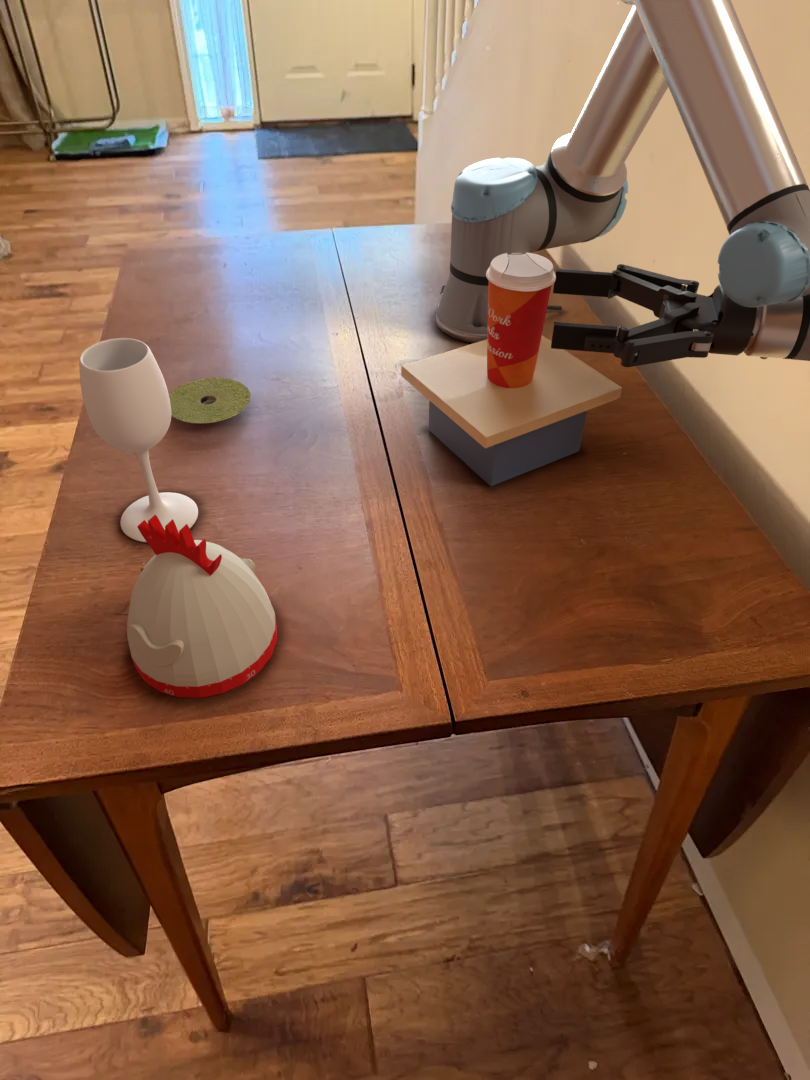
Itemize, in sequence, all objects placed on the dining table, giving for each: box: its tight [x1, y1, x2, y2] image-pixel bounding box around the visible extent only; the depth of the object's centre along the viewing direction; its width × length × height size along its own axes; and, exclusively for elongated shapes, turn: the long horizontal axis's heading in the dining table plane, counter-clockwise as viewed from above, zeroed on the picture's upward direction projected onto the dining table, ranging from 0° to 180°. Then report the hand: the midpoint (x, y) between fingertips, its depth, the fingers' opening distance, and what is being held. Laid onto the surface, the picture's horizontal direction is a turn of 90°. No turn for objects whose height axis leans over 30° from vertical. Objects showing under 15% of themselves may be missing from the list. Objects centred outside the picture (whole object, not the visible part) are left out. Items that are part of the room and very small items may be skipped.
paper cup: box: [486, 252, 556, 388], centre depth 90 cm, size 8×8×14 cm
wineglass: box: [78, 337, 199, 543], centre depth 82 cm, size 9×9×21 cm
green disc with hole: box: [169, 377, 252, 424], centre depth 105 cm, size 11×11×2 cm
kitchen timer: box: [126, 515, 278, 699], centre depth 71 cm, size 14×14×15 cm
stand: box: [400, 334, 623, 487], centre depth 98 cm, size 20×18×10 cm
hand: (553, 306), depth 88 cm, fingers open, 13 cm apart
